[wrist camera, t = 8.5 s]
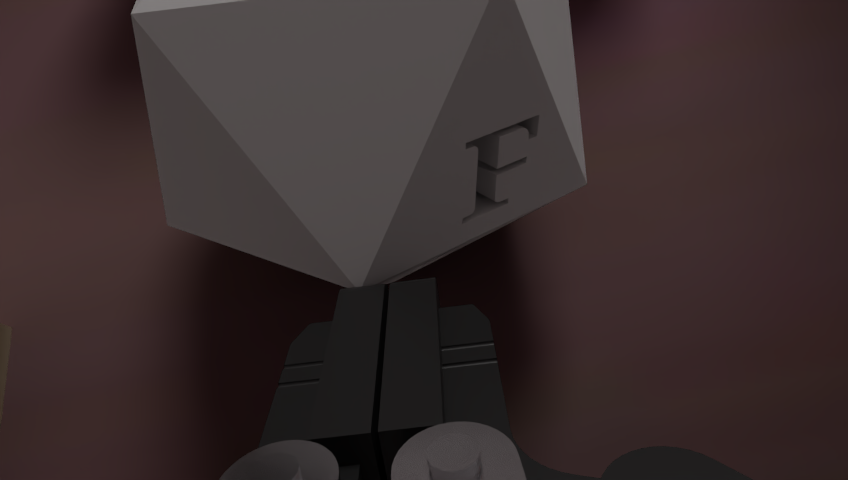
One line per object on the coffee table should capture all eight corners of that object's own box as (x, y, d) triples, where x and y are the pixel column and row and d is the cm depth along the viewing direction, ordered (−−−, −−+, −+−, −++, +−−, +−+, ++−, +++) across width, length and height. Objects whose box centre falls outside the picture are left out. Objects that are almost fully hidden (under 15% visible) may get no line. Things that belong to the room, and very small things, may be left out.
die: (203, 352, 16) (358, 416, 7) (49, 0, 15) (28, -386, 6) (471, 228, 20) (778, 175, 11) (362, -60, 19) (608, -354, 10)
